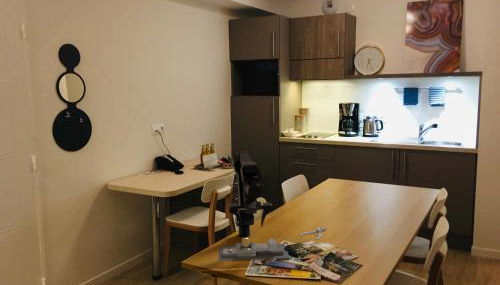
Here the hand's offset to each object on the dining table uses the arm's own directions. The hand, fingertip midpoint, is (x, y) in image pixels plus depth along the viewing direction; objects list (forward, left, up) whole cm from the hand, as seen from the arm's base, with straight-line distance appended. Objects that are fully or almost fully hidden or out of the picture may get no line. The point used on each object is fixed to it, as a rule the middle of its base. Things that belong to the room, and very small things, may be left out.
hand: (251, 226), depth 180 cm
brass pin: (+4, -3, -11) cm, 12 cm away
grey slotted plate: (+4, 0, -11) cm, 12 cm away
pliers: (-20, +33, -12) cm, 40 cm away
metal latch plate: (+4, +2, -9) cm, 10 cm away
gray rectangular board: (+2, 0, -12) cm, 12 cm away
